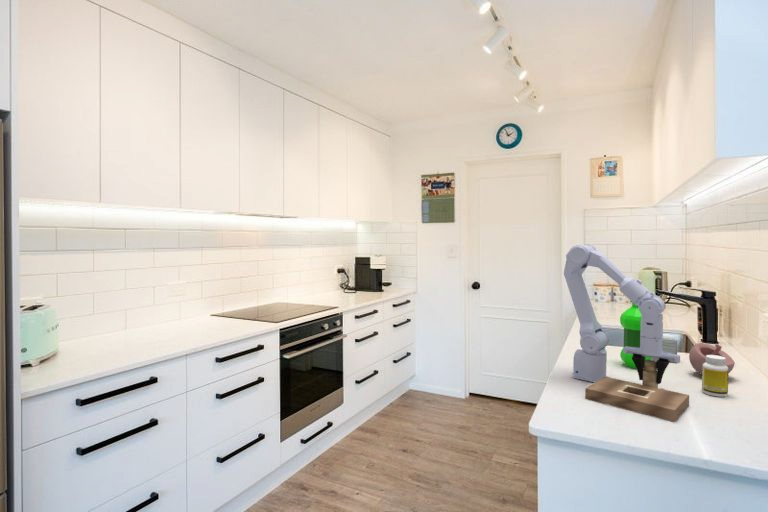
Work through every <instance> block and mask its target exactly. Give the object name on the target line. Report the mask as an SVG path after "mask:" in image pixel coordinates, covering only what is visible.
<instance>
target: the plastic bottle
mask: <svg viewBox="0 0 768 512" xmlns="http://www.w3.org/2000/svg"><path fill="white" fill-rule="evenodd" d="M629 301H630V303H631V306H630V307H629V308H627V309H626V310H625V311H623V312H622V313H621V314H620V318H619V322H620V325H621V327H622V328H623V347H622V349H621V351H620V354H619V355H620V359H621V361H622V362H623V363H624V364H625V365H626V366H628V367H629V368H631V369H637V368H636V366H635V364H634V362H633V360H632V357H633V354H625V353H624V347H626V346H628V347H636V348H640V332H641V313H640V311H639V308H638V307H639V306H637V305H635V304H634V303H633V302H632V301H631V300H630V299H629ZM645 360H652V358H650V357H645Z"/></svg>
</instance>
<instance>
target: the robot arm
mask: <svg viewBox="0 0 768 512" xmlns="http://www.w3.org/2000/svg"><path fill="white" fill-rule="evenodd" d="M565 258H566V260H565V265H564V270H563V276H564V278H565V282H566V286H567V287H568V290H569V291H568V292H569V294H570V298H571V300H572V303H573V306H574V309H575V312H576V315H577V318H578V321H579V324H580V325H579V326H580V327H579V335H580V338H579V339H580V340H579V344H580V348H581V349H579V348H578V349H576V350H575V352H574V353H573V361H572V362H573V363H572V364H573V367H572V368H573V370H572V371H573V372H572V373H573V374H572V375H571V376H572V378H574V379H578V380H583V381H587V382H590V383H595V382H597V381H598V380H600V379H602V378H603V377H609V378H612V377H611V376H608V375H607V359H608V358H607V355H608V353H607V349H606V347H607V346H608V345H609V342H610V339H609V335H608V334H607V332H605V330H604V329H603V327H602V324H601V323H600V322H599V321H598V319H597V317H596V314H595V311H594V308H593V304H592V302H591V298H590V295H589V293H588V290H587V287H586V284H585V281H584V277H583V273H584V272H585V270H587V268H588V266H589V267H593V268H594V267H595V268H597V269H600V270H601V272H603V273H604V274H606V275H607V276H608V277H609V278H610V279H611V280H613V281H614V282H616V283H617V284H618V286H619V292H621V293H622V295H624V296H625V297H626V298H628V300H629V301H630V300H631V301H632V302H633V303H634V304H635V305H637V306H639V307H638V308H639V311H640V313H641V332H640V348H636V347H628V346H626V347H624V346H623V348H624V353H625V354H633V357H632V360H633V362H634V364H635V366H636V368H635V369H636V371H637V373H638V378H639V381H643V370H644V362H645V357H650V358H656V359H659V360H657V361H656V360H655V361H656V364H657V384H658V385H660V384H662V379H663V377H664V373H665V371H666V370H667V368H668V366H669V364H671V362H670V361H673V362H675V363H674V364H679V363H680V362H681V355H680V354H677V355H676V354H672V353H668V352H664V351H662V341H663V337H664V336H663V335H664V321H663V319H664V318H663V317H664V316H663V315H664V314H662V313H664V311H665V309H666V304H665V302H664V300H663V298H662V297H661V296H659V295H655V294H656V293H655V292H654V291H650V290H649V289H648V288H646V286H645V285H643V284H642V283H643V281H642V280H641V279H640V278H638V279H637V278H635V277H627V276H626V274H625V273H623V272H622V271H621V270H620V269H619V268H618V267H617V265H615V264H614V263H613V262H612V261H611V260H610V259H609V258H608V257H606V255H605V254H604V253H602V251H600V250H598V249H597V248H596V247H595V246H594V245H591V244H584V245H583V244H581V245H580V244H576V245H574V246H572V247H571V248H569V251H567V253H566V255H565ZM632 302H631V303H632ZM673 362H672V363H673Z"/></svg>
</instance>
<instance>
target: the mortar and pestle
mask: <svg viewBox="0 0 768 512" xmlns="http://www.w3.org/2000/svg"><path fill="white" fill-rule="evenodd" d="M722 348H723V346H721V345H720V344H719V343H715V345H712V344H708V343H705V342H698V343H697V342H696V344H694V345H693V346H692V347H691V349H690V351H689V354H688V357H689V359H688V360H689V362H690V365H691V366H692V368H693V369H694V370H695V371H696V372H697V373H698V374H700V375H702V366H703V364H704V363H705V362H707V361H706V355H717V356H722V357H725V358H726V362H725V363H724V364H725V365H726V366H727V367H728V369H729V370H728V371H729V373H728V375H729V374H730V373H731V372H732V371H733V369H734V367H735V365H736V364H735V361H734V359H733V357H731V355H729V354H728V353H727V352H726V351H723V350H722Z"/></svg>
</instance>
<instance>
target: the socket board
mask: <svg viewBox="0 0 768 512" xmlns="http://www.w3.org/2000/svg"><path fill="white" fill-rule="evenodd" d="M609 377H610V376H608V377H603V378H602V379H600V380H598V381H597V382H592V383H591V384H590V385H589V386H587V387H585V388H584V389H585V390H584V391H585V396H584V398H585V400H589V401H594V402H597V403H601V404H604V405H608V406H611V407H612V406H613V407H616V408H620V409H623V410H628V411H632V412H635V413H639V414H642V415H645V416H646V415H647V416H651V417H654V418H658V419H663V420H666V421H670V422H676V421H677V420H678V419H679V418H680V417H681V416H682V414H683V413H684V412H685V411H686V410H687V409H688V408H689V407H690V394H686V393H682V392H679V391H678V392H677V391H673V390H668V389H664V388H659V387H658V388H655V387H650V386H646V385H642V384H640V383H635V382H633V381H626V380H623V379H617V378H613V377H611V378H609Z"/></svg>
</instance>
